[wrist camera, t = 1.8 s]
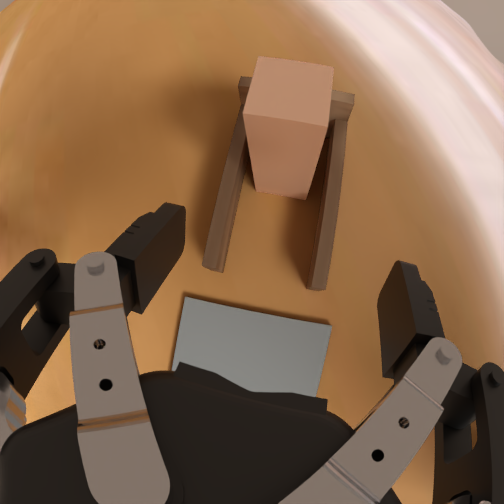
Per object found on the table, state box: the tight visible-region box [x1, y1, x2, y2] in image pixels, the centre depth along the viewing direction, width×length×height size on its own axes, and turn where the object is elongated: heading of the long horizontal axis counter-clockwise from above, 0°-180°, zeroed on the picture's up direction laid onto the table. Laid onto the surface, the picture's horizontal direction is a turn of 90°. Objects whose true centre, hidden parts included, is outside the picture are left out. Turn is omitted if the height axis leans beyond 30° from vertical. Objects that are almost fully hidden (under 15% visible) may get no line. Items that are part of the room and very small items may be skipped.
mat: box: [172, 297, 332, 397], centre depth 28 cm, size 14×12×1 cm
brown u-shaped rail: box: [202, 76, 355, 291], centre depth 27 cm, size 10×17×7 cm, turn 169°
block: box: [243, 56, 334, 200], centre depth 24 cm, size 5×5×14 cm
